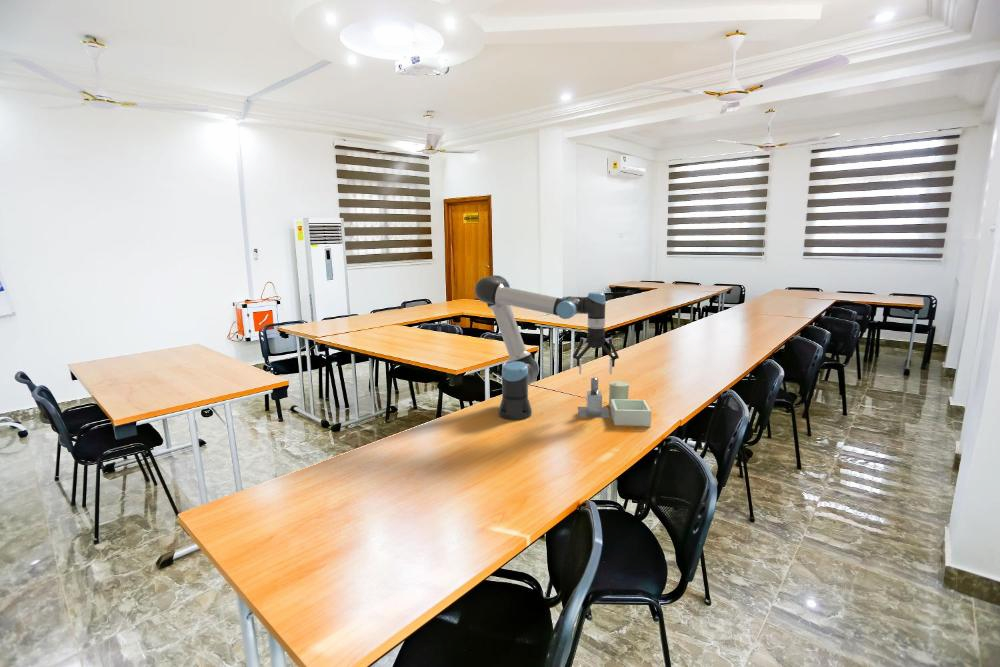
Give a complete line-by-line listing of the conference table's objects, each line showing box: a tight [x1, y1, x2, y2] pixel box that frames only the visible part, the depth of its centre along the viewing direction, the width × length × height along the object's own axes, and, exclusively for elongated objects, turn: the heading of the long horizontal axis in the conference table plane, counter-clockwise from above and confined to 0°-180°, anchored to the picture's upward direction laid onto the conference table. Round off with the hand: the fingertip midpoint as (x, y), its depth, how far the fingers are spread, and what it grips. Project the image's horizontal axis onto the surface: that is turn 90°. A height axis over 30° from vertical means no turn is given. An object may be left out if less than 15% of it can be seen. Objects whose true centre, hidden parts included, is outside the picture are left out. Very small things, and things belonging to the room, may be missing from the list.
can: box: [608, 380, 630, 408], centre depth 235 cm, size 9×9×12 cm
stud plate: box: [577, 406, 612, 419], centre depth 227 cm, size 14×14×8 cm
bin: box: [610, 398, 652, 428], centre depth 218 cm, size 15×15×7 cm
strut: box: [585, 377, 603, 415], centre depth 226 cm, size 6×6×16 cm
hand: (595, 373), depth 224 cm, fingers open, 13 cm apart
